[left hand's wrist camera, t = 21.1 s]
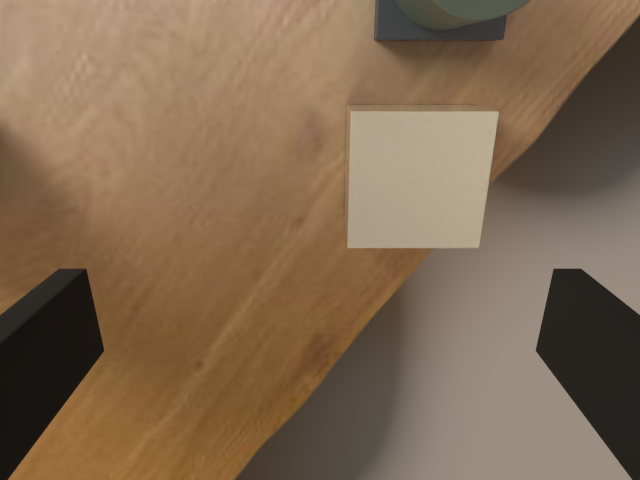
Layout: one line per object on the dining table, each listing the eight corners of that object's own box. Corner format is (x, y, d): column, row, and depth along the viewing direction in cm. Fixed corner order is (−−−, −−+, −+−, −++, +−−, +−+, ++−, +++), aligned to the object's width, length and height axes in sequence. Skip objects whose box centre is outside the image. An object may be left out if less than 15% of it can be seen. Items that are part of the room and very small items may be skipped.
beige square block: (460, 225, 38) (479, 248, 33) (344, 225, 38) (347, 248, 33) (475, 104, 34) (499, 111, 30) (346, 104, 34) (350, 111, 30)
